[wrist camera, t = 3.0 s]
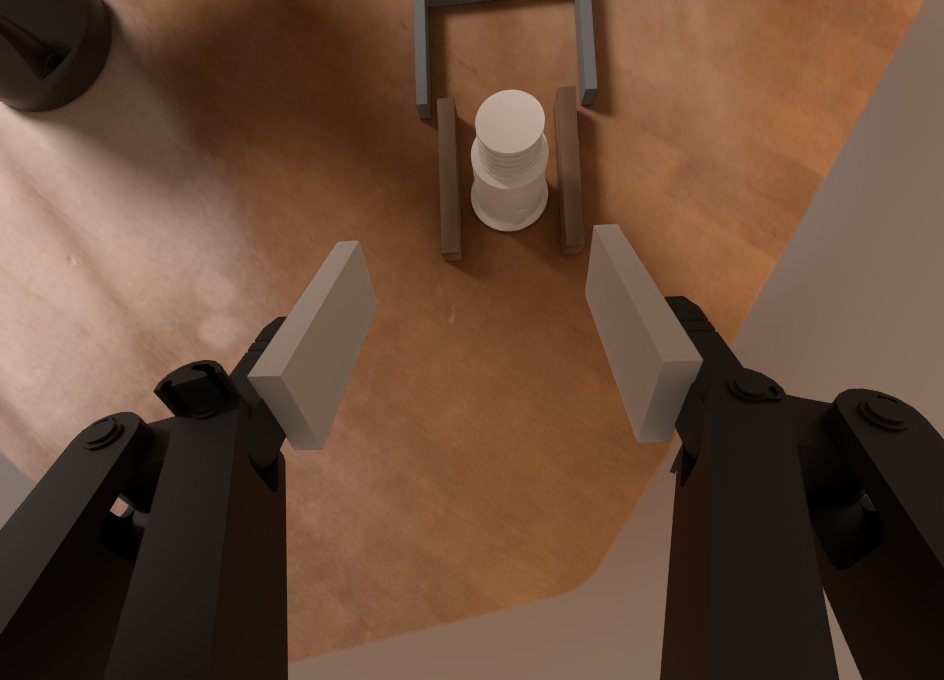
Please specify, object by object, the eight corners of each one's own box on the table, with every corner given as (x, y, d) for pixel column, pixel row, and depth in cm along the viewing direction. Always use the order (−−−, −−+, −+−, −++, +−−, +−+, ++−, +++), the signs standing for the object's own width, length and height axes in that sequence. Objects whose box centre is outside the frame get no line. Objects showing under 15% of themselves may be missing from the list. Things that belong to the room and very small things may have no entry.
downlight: (558, 225, 34) (579, 159, 25) (483, 246, 35) (474, 190, 25) (533, 147, 36) (544, 54, 26) (461, 169, 36) (444, 85, 26)
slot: (445, 261, 35) (441, 253, 33) (441, 117, 36) (437, 98, 34) (579, 253, 34) (585, 244, 32) (570, 106, 35) (575, 86, 33)
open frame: (420, 119, 36) (416, 104, 34) (417, -1, 38) (413, -22, 36) (592, 104, 35) (597, 88, 33) (583, -20, 36) (588, -42, 34)
